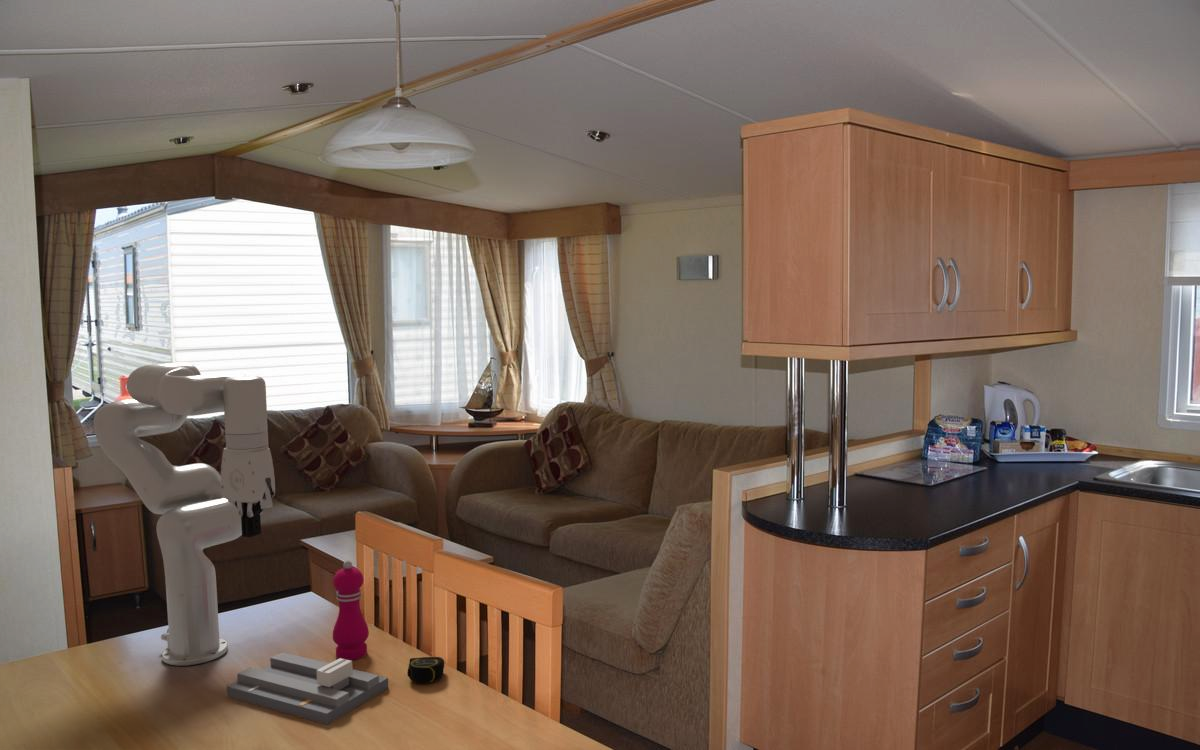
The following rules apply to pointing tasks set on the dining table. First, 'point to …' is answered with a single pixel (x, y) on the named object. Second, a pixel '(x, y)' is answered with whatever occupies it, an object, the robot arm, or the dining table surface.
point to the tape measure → (425, 669)
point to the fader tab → (335, 674)
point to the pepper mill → (349, 614)
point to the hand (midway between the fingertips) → (251, 535)
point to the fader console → (303, 689)
